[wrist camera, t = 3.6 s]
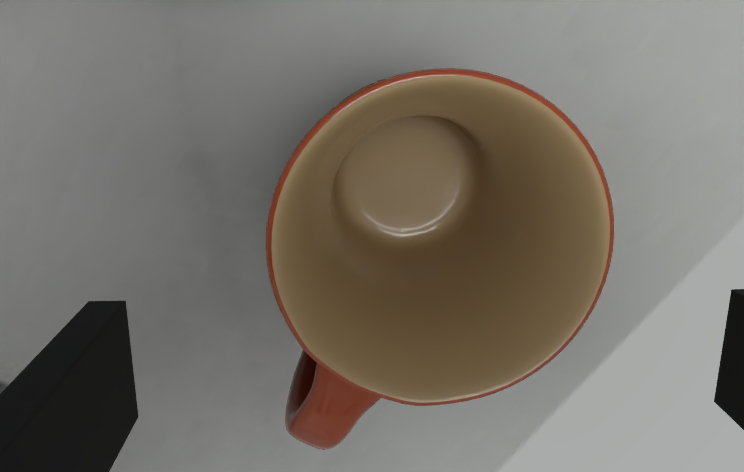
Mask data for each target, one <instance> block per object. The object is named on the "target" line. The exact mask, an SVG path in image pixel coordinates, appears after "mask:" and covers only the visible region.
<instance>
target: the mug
mask: <svg viewBox="0 0 744 472" xmlns="http://www.w3.org/2000/svg"><path fill="white" fill-rule="evenodd" d="M613 240H614V216H613V208H612V201H611V196H610V192H609V187H608V184H607V181H606V178H605V175H604V172H603V169H602V167H601V165H600V163H599V161H598V159H597V156H596V155H595V153H594V151H593V149H592V148H591V146H590V144H589V143H588V141H587V140H586V138H585V137H584V136H583V134H582V133H581V132H580V130H579V129H578V128H577V127H576V125H575V124H574V123H573V122H572V121H571V120H570V119H569V118H568V117H567V116H566V115H565V114H564V113H563V112H562V111H561V110H559V109H558V108H557V107H556V106H555V105H554V104H552V103H551V102H550V101H548V100H547V99H545V98H544V97H542V96H541V95H539V94H538V93H536V92H534V91H533V90H531V89H529V88H527V87H525V86H523V85H521V84H519V83H516V82H514V81H511V80H509V79H507V78H503V77H500V76H497V75H493V74H490V73H485V72H480V71H474V70H466V69H453V68H452V69H430V70H422V71H415V72H410V73H406V74H402V75H398V76H395V77H392V78H389V79H384V80H380V81H377V82H376V83H373V84H370V85H368V86H366V87H363V88H361V89H360V90H358V91H356V92H354V93H353V94H351V95H350V96H348V97H347V98H346V99H344V100H343V101H342V102H341V103H339V104H338V105H337V106H336V107H335V108H333V109H332V110H331V111H330V112H329V113H327V114H326V115H325V116H324V117H323V118H322V119H321V120H319V121H318V123H317V124H316V125H315V126H314V127H313V128H312V129H311V130H310V131H309V132H308V133H307V134H306V136H305V137H304V138H303V140H302V141H301V142H300V144H299V145H298V146H297V148H296V149H295V151H294V152H293V154H292V156H291V157H290V159H289V160H288V162H287V164H286V166H285V168H284V170H283V172H282V174H281V176H280V178H279V181H278V183H277V186H276V189H275V192H274V195H273V198H272V202H271V206H270V210H269V215H268V222H267V230H266V255H267V265H268V271H269V277H270V281H271V285H272V288H273V292H274V295H275V298H276V300H277V303H278V305H279V308H280V310H281V312H282V315H283V317H284V319H285V321H286V323H287V325H288V326H289V328H290V330H291V332H292V333H293V335H294V337H295V338H296V340H297V341H298V343H299V344H300V346H301V347H302V348H303V352H302V354H301V357H300V359H299V362H298V365H297V367H296V370H295V373H294V377H293V380H292V384H291V387H290V391H289V395H288V400H287V405H286V412H285V425H286V430H287V431H288V433H289V434H290V435H291V436H293V437H294V438H296V439H297V440H299V441H301V442H303V443H305V444H308V445H310V446H312V447H315V448H318V449H323V450H325V449H331V448H333V447H335V446H336V445H338V444H339V443H340V442H341V441H342V440H343V439H344V438H345V437H346V436H347V435H348V433H349V432H350V431H351V429H352V428H353V426H354V425H355V424H356V422H357V421H358V420H359V418H360V417H361V416H362V415H363V414H364V413H365V412H366V411H367V410H368V409H369V408H370V407H371V406H373V405H374V404H375V403H376V402H377V401H378V400H379V399H380V398H384V399H388V400H391V401H395V402H399V403H402V404H408V405H415V406H428V405H442V404H451V403H457V402H463V401H468V400H472V399H477V398H481V397H484V396H487V395H490V394H493V393H496V392H499V391H501V390H503V389H506V388H508V387H510V386H512V385H514V384H516V383H518V382H520V381H522V380H524V379H526V378H527V377H529V376H530V375H532V374H533V373H535V372H537V371H538V370H539V369H541V368H542V367H543V366H545V365H546V364H547V363H549V362H550V361H551V360H552V359H553V358H554V357H555V356H557V355H558V354H559V353H560V352H561V351H562V350H563V349H564V348H565V347H566V346H567V345H568V344H569V342H570V341H571V340H572V339H573V338H574V337H575V335H576V334H577V333H578V332H579V330H580V329H581V328H582V326H583V325H584V323H585V322H586V320H587V319H588V317H589V315H590V314H591V312H592V310H593V308H594V306H595V304H596V303H597V301H598V299H599V296H600V294H601V291H602V289H603V286H604V284H605V281H606V277H607V274H608V271H609V267H610V262H611V257H612V251H613Z"/></svg>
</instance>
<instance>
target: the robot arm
mask: <svg viewBox="0 0 744 472" xmlns="http://www.w3.org/2000/svg"><path fill="white" fill-rule="evenodd" d="M714 402H715V403H716V404H717V405H718V406H719V407H720V408H721V409H723V410H724V411H725V412H726V413H727V414H728V415H729V416H730V417H731V418H732V419H733V420H734V421H735V422H736V423H737V424H738V425H739V426H740V427H741V428H742V429H743V430H744V289H740V290H739V289H738V290H737V289H735V290H731V297H730V303H729V310H728V316H727V322H726V329H725V335H724V341H723V348H722V355H721V361H720V367H719V373H718V380H717V386H716V393H715V399H714ZM137 418H138V410H137V401H136V392H135V382H134V373H133V364H132V355H131V346H130V336H129V327H128V318H127V309H126V301H89V302H88V303H87V304H86V305H85V306H84V307H83V308H82V309H81V310H80V311H79V312H78V313H77V314H76V315H75V316H74V317H73V318H72V319H71V320H70V322H69V323H68V324H67V325H66V326H65V327H64V328H63V329H62V330H61V331H60V332H59V333H58V334H57V335H56V336H55V337H54V338H53V339H52V340H51V341H50V343H49V344H48V345H47V346H46V347H45V348H44V349H43V350H42V351H41V352H40V353H39V354H38V355H37V356H36V357H35V358H34V359H33V360H32V361H31V362H30V364H29V365H28V366H27V367H26V368H25V369H24V370H23V371H22V372H21V373H20V374H19V375H18V376H17V377H16V378H15V379H14V380H13V381H12V382H11V383H10V385H9V386H8V387H7V388H6V389H5V390H4V391H3V392H2V393H1V394H0V472H109V471H110V469H111V467H112V465H113V463H114V461H115V460H116V458H117V456H118V454H119V452H120V450H121V448H122V446H123V444H124V443H125V441H126V439H127V437H128V435H129V433H130V431H131V429H132V427H133V426H134V424H135V422H136V420H137Z"/></svg>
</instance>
